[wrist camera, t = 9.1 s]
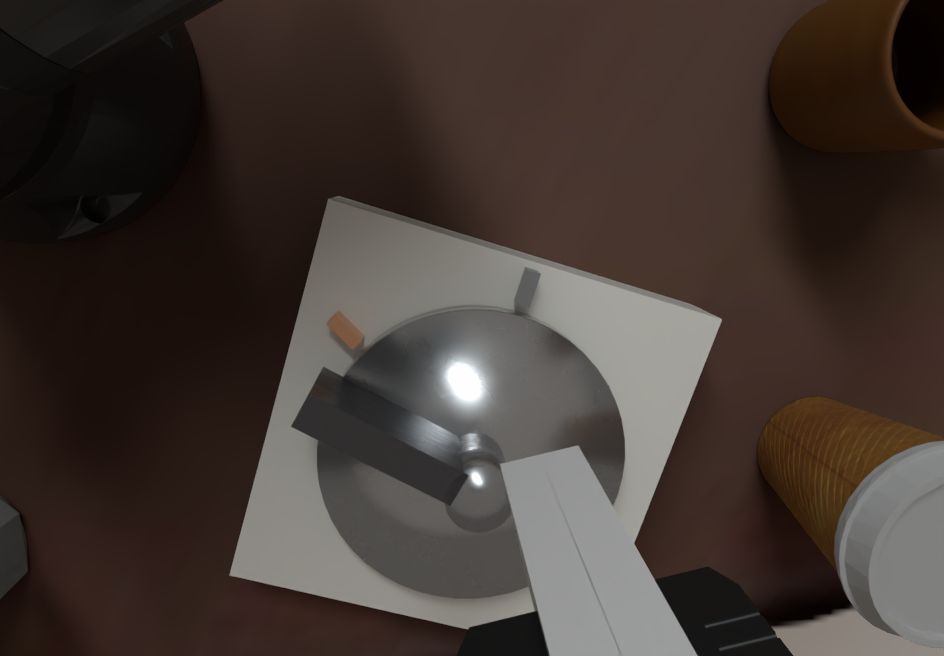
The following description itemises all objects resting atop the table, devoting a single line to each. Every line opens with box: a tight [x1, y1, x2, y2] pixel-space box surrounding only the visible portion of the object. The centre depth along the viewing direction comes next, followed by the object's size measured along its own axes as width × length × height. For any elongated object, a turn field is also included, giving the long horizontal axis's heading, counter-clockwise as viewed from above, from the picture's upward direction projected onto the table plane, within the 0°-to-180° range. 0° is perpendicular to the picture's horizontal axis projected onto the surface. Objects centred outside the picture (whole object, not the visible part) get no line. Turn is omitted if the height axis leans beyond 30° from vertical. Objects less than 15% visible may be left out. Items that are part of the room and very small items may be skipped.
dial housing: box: [230, 196, 722, 629], centre depth 35 cm, size 20×20×5 cm
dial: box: [291, 305, 625, 599], centre depth 31 cm, size 16×15×5 cm
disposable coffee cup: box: [757, 397, 944, 648], centre depth 34 cm, size 10×10×12 cm
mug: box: [769, 0, 944, 153], centre depth 31 cm, size 12×8×9 cm, turn 90°
